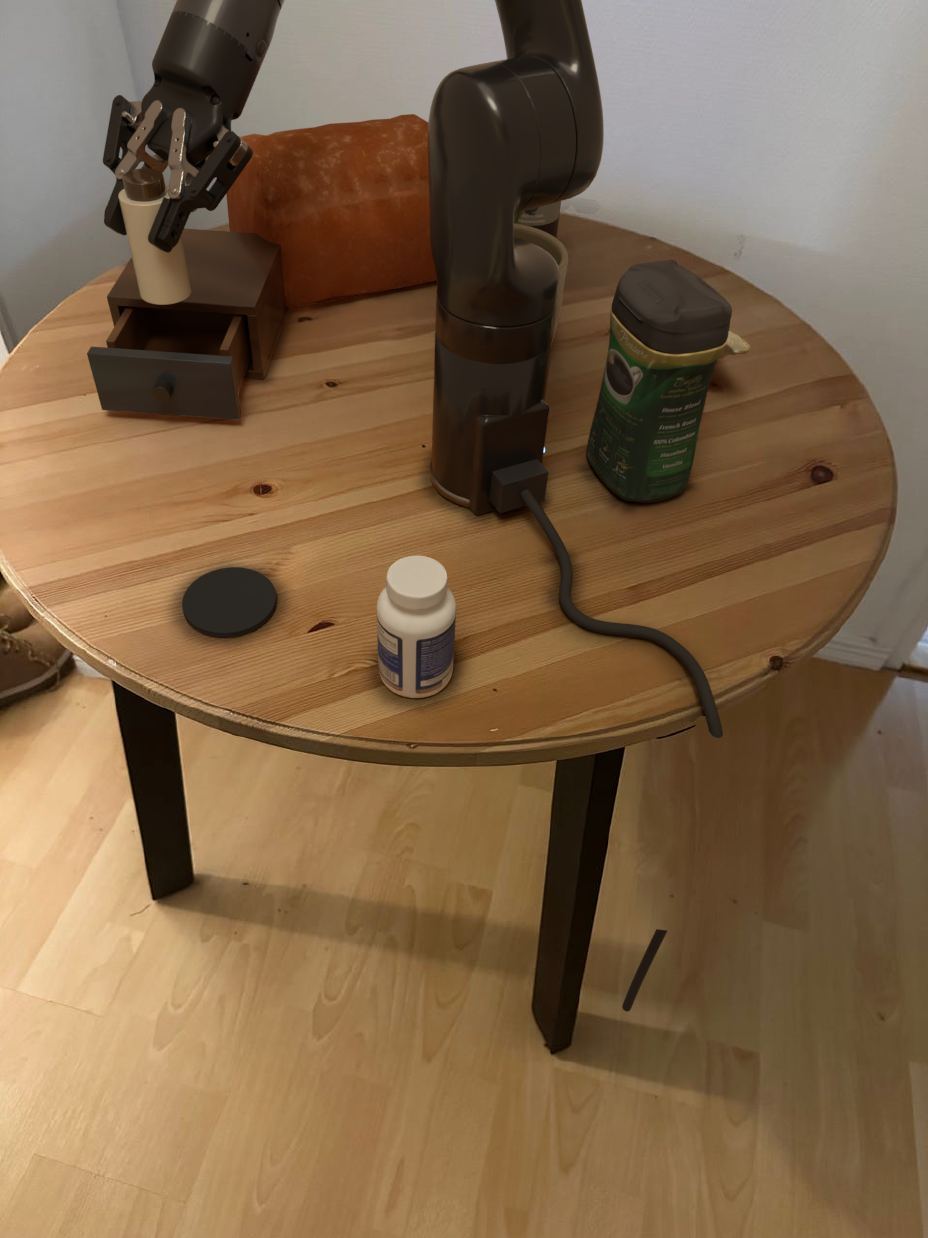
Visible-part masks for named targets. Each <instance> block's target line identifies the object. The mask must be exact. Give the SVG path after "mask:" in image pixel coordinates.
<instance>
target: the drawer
mask: <svg viewBox="0 0 928 1238" xmlns="http://www.w3.org/2000/svg"><path fill="white" fill-rule="evenodd" d="M105 342H106V347H103V346H90V347H89V349H88V350H87V352H86V355H87V359H88V363H89V366H90V371H91V374H92V378H93V381H94V385H95V389H96V392H97V396H98V400H99V403H100V407H101V410H102V411H110V412H111V411H112V412H124V413H136V414H153V415H167V416H178V417H181V416H182V417H193V418H195V417H196V418H208V419H222V420H223V419H224V420H235V421H237V420H240V417H241V414H242V408H241V401H240V394H239V392H240V389H241V387H242V384H243V381H244V380H245V378H244V377H245V374H246V371H247V369H248V366H249V363H250V361H251V358H252V352H251V344H250V336H249V328H248V320H247V315H242V314H228V313H214V312H200V311H186V310H171V309H157V308H143V307H129V306H126V308H125V310H124V311H123V313H122V315H121V316H120V318H119V320H118V321H117V323H116V325H115V327H114V326H113V328H112V330H111V332H110V333H109V335H108V337H107V339H106V340H105Z"/></svg>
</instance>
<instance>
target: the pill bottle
mask: <svg viewBox="0 0 928 1238" xmlns="http://www.w3.org/2000/svg"><path fill="white" fill-rule="evenodd" d="M385 581H386V582H385V583H386V584H385V587H384V588H383V589H382V590H381V592H380V594H379V596H378V598H377V601H376V611H375V612H376V634H377V635H376V636H377V662H378V673H379V677H380V680H381V681H382V683H383V685H384V686H385V687H386V688H387V689H388V690H390V691H391V692H392V693H393V694H396V695H398V696H401V697H405V698H410V699H423V698H428V697H430V696H431V697H432V696H434V695H436V694H438V693H439V692H441V691H442V690H444V689H445V688H446V687H447V685H448V683H449V682H450V680H451V678H452V675H453V668H454V658H455V657H454V656H455V655H454V653H455V637H456V620H457V602H456V598H455V596H454V594H453V592H452V591H451V590H450V588H449V587H448V572H447V570H446V568H445V567H444V565H443V564H442V563H441V562H439V561H438V560H437V559H435V558H432V557H429V556H425V555H408V556H404V557H401V558H400V559H399V558H398V559H397V560H396V561H395V562H393V563H392V564H391V565H390V566H389V568H388V570H387V572H386V580H385Z"/></svg>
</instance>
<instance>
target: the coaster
mask: <svg viewBox="0 0 928 1238" xmlns="http://www.w3.org/2000/svg"><path fill="white" fill-rule="evenodd" d="M277 599H278V598H277V592H276V589H275V586H274V584H273V582H272V581H271V580H270V579H269V578H268V577H267V576H265V575H264V574H263V573H261V572H260V571H257V570H254V569H251V568H247V567H240V566H231V567H229V566H228V567H222V568H218V569H215V570H211V571H209V572H207V573H204V574H203V575H200V576H199V577H198V578H196V579H195V580H194V581H192V583H190V584H189V586H188V587H187V588H186V590H185V592H184V593H183V596H182V601H181V606H182V607H181V608H182V609H181V610H182V613H183V617H184V618H185V620H186V622H187V624H188V625H189V626H190V627H191V628H193V629H194V630H195V631H197V632H198V633H200V634H202V635H205V636H208V637H212V638H219V639H229V638H236V637H237V638H238V637H241V636H245V635H248V634H250V633H252V632H255V631H257V630H259V629H260V628H261V627H263V626H264V625H266V623H267V622H268V621H269V620H270V619H271V618H272V616H273V614H274V613H275V610H276V608H277V603H278V602H277V601H278V600H277Z"/></svg>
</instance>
